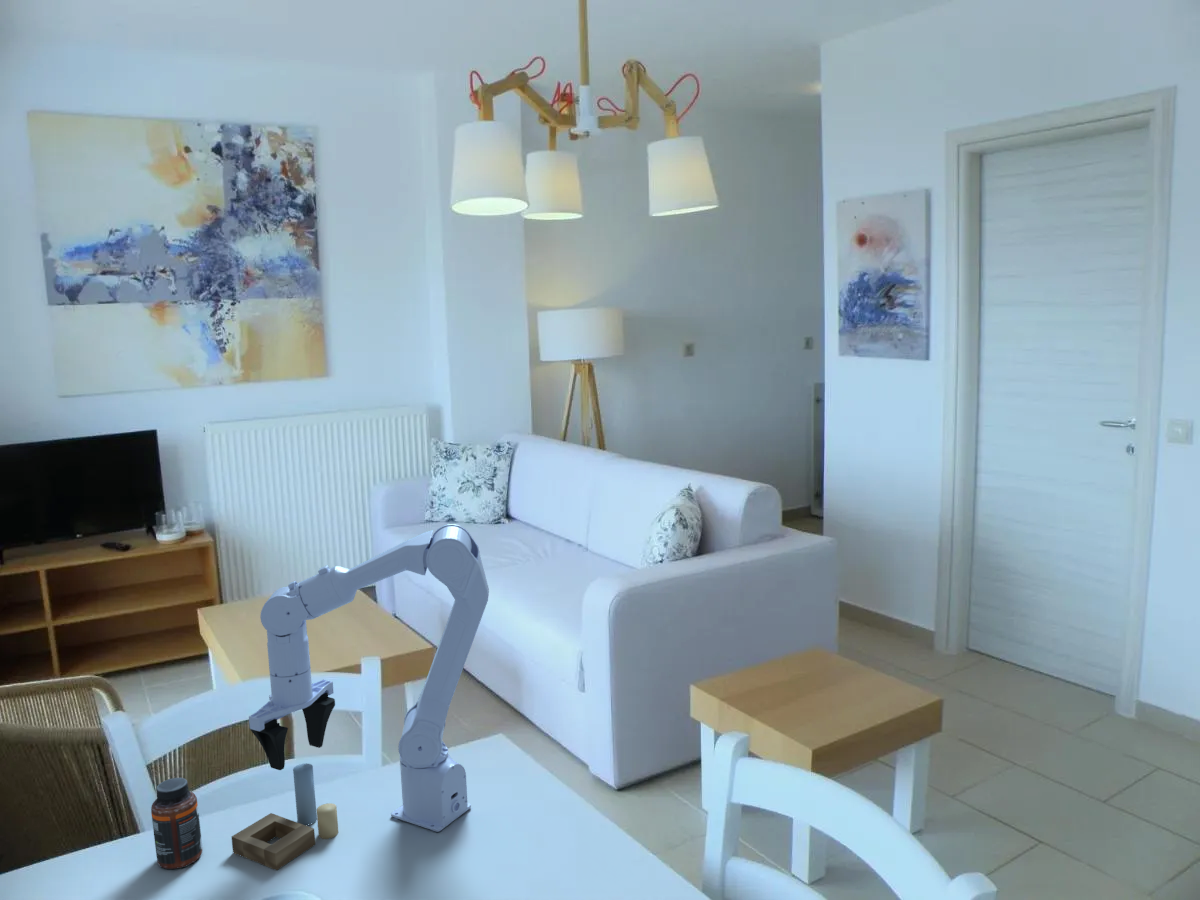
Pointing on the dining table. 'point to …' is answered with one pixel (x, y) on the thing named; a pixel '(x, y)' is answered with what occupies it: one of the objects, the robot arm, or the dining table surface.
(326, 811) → the short dowel
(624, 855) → the dining table surface
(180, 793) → the supplement bottle
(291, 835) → the block with square hole
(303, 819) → the long dowel
